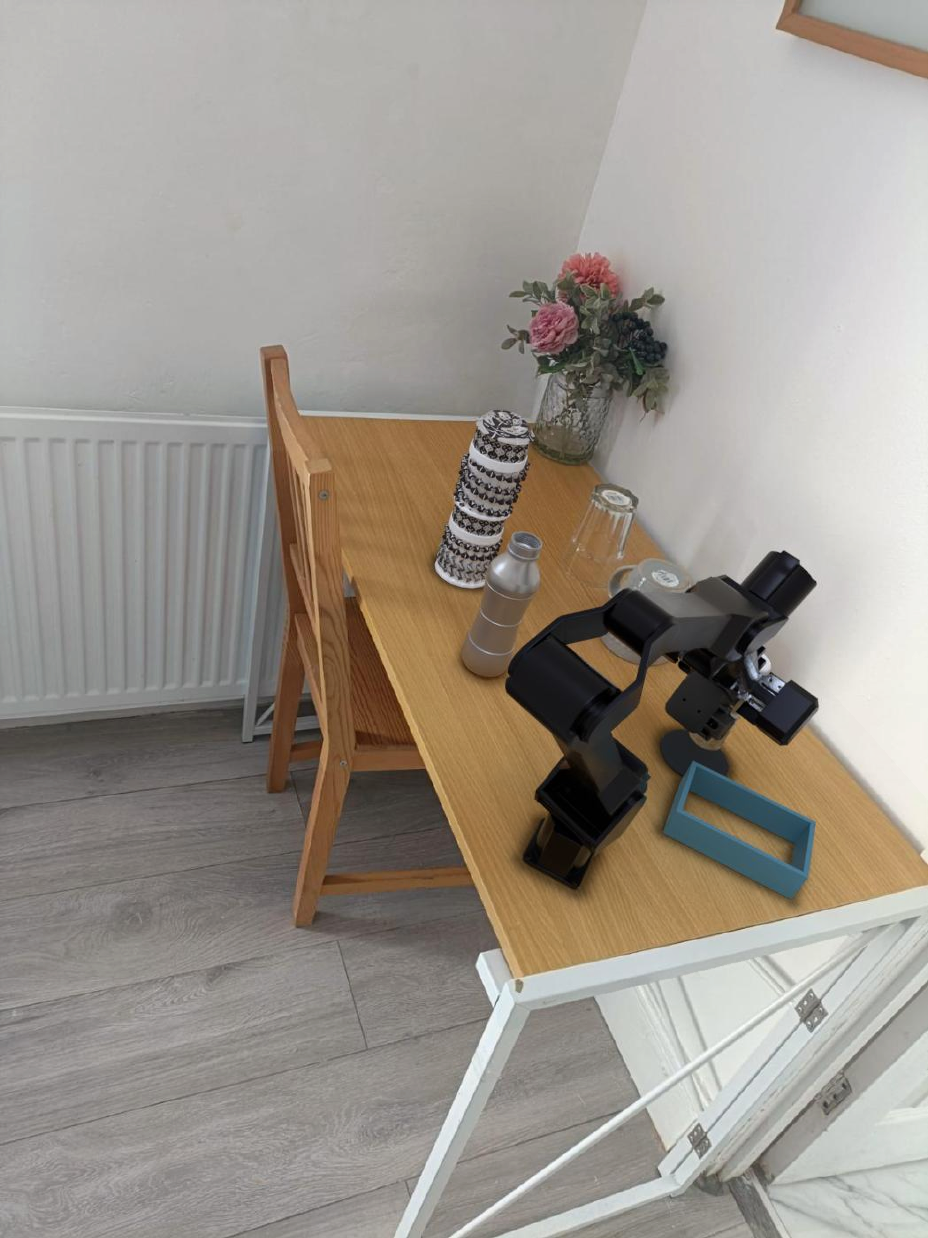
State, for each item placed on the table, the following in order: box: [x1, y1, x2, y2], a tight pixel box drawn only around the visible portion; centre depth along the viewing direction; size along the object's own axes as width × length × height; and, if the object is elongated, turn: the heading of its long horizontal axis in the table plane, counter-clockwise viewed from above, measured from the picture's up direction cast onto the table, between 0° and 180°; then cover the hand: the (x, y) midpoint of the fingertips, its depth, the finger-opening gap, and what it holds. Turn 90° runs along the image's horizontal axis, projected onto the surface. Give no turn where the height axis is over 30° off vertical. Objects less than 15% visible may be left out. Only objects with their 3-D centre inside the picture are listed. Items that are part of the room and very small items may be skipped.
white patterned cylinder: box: [434, 409, 536, 589], centre depth 122 cm, size 9×9×25 cm
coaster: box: [659, 728, 730, 778], centre depth 110 cm, size 9×9×1 cm
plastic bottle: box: [460, 531, 543, 678], centre depth 108 cm, size 6×7×20 cm
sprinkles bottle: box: [689, 653, 772, 751], centre depth 104 cm, size 5×5×13 cm
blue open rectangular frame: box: [662, 761, 817, 900], centre depth 100 cm, size 9×15×4 cm, turn 66°
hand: (735, 693), depth 105 cm, fingers closed on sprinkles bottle, 4 cm apart
